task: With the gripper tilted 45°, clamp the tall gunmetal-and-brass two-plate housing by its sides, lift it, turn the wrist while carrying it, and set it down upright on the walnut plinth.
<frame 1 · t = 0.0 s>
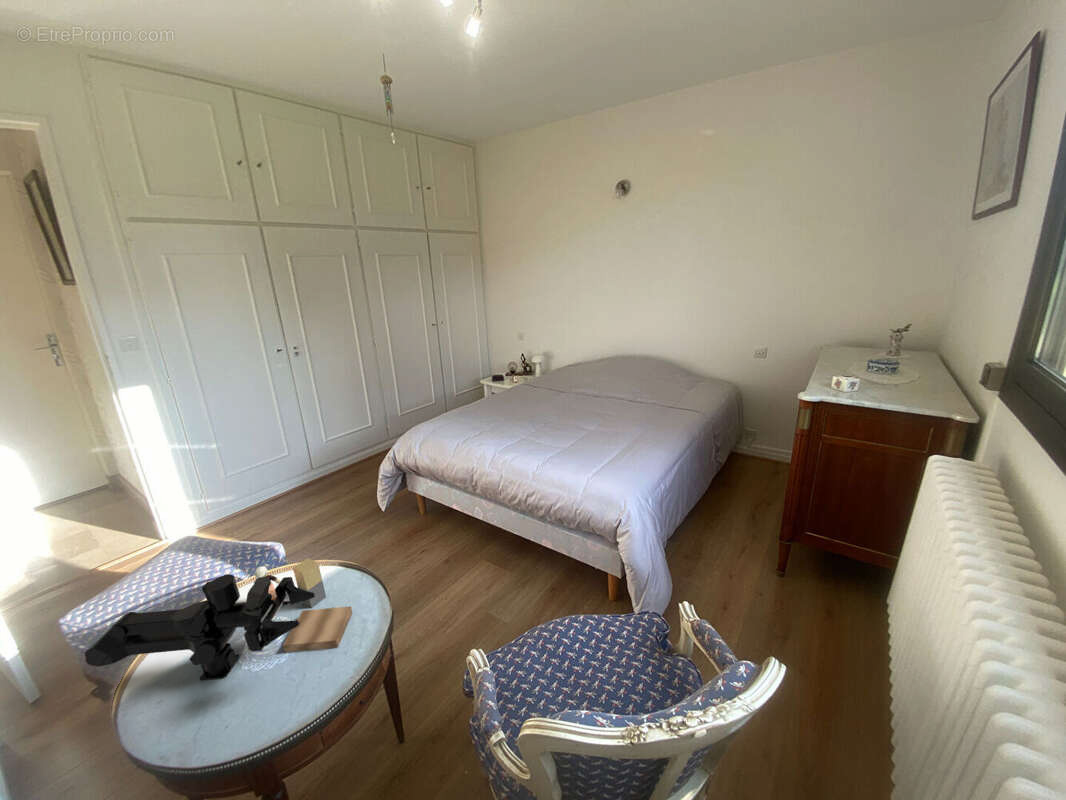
hand: (306, 608, 108), 17 cm above the table, tool horizontal, fingers open, 9 cm apart
grandmother figurine: (269, 601, 133), on the table
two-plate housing: (314, 599, 133), on the table
walnut plinth: (320, 631, 121), on the table
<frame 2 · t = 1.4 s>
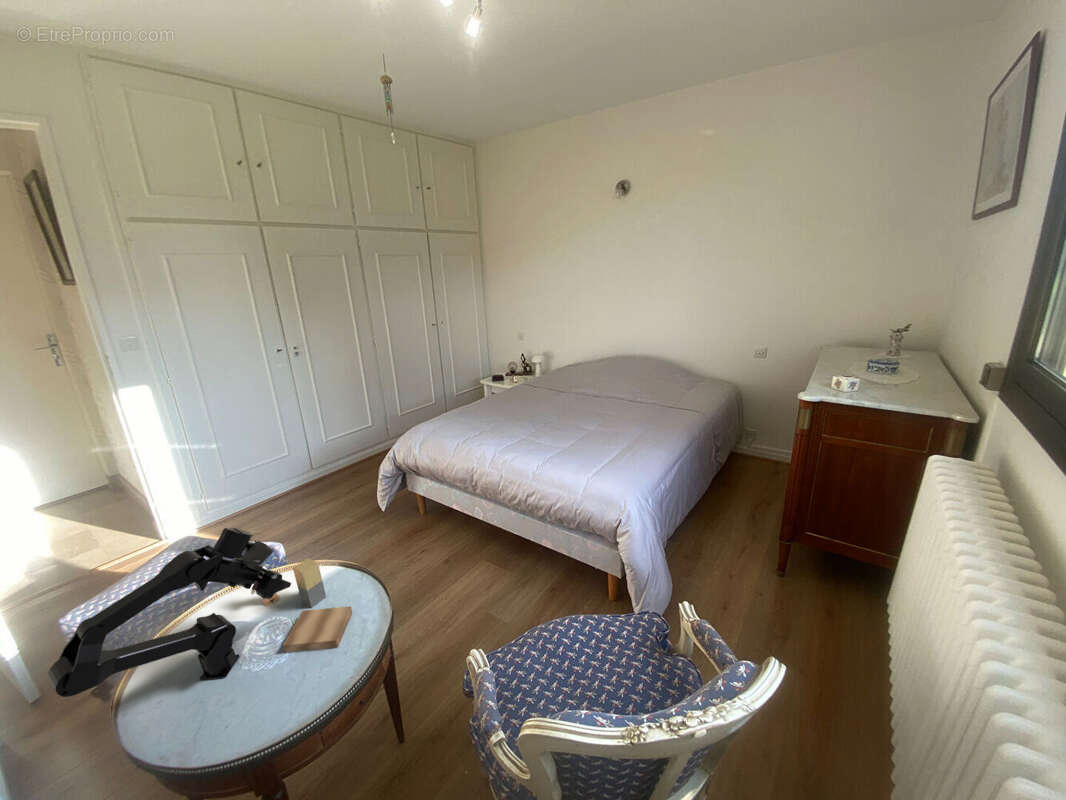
hand: (281, 579, 123), 14 cm above the table, tool tilted 45°, fingers open, 9 cm apart
nothing on the table moved.
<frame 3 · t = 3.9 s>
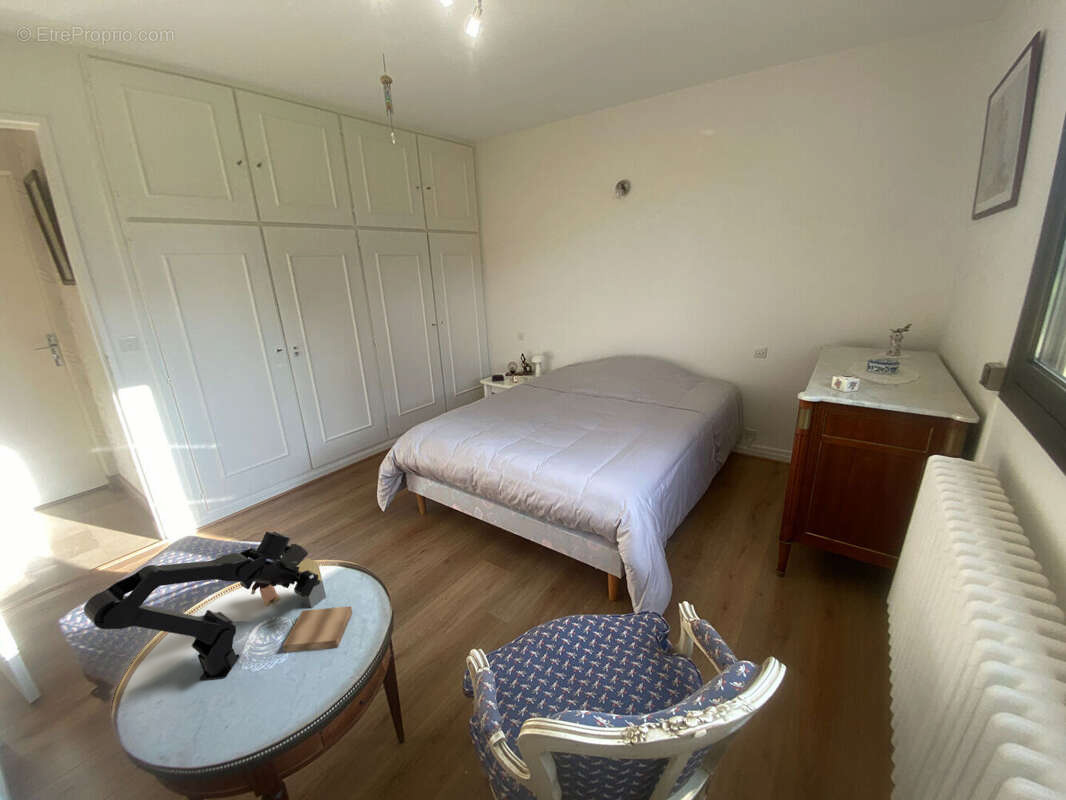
hand: (313, 579, 132), 7 cm above the table, tool tilted 45°, fingers closed on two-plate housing, 5 cm apart
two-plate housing: (314, 599, 133), on the table, touching gripper
everything else where it was.
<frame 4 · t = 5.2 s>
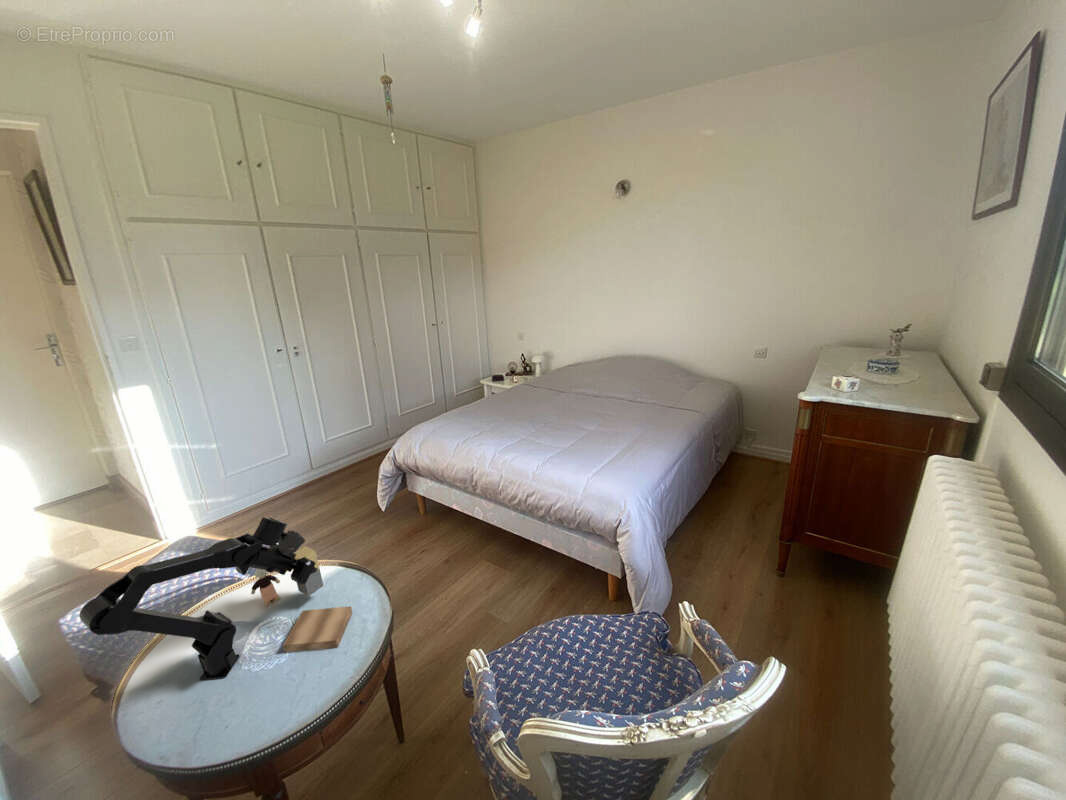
hand: (311, 567, 131), 11 cm above the table, tool tilted 45°, fingers closed on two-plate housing, 5 cm apart
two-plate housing: (311, 588, 132), point 4 cm above the table, touching gripper
everything else where it was.
when the fingers open (10 cm above the table, at t = 7.9 s): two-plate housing stays where it is, resting on walnut plinth.
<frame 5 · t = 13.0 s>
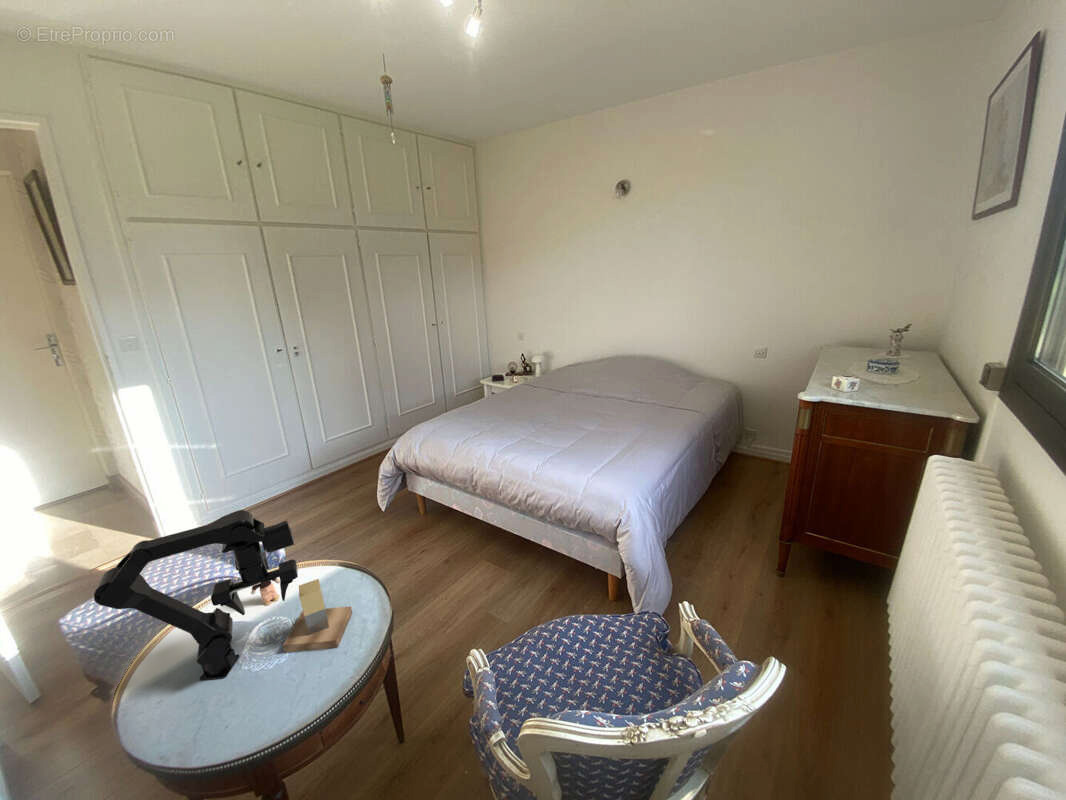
hand: (264, 606, 114), 13 cm above the table, tool pointing down, fingers open, 9 cm apart
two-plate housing: (318, 624, 120), point 2 cm above the table, touching walnut plinth
everything else where it was.
at the end: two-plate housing inside the target area on the walnut plinth (0.1 cm from its centre), point 2.5 cm above the walnut plinth's base; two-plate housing tilted 0°; the gripper is holding nothing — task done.
